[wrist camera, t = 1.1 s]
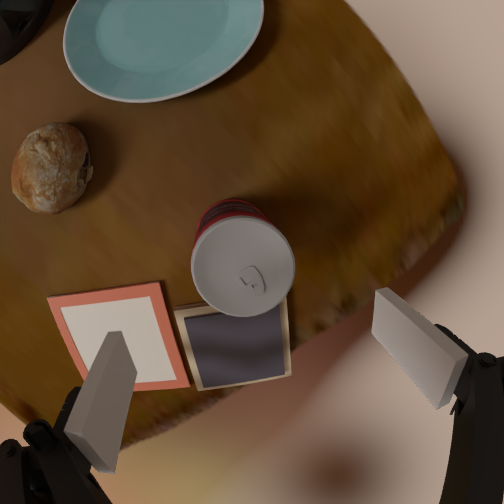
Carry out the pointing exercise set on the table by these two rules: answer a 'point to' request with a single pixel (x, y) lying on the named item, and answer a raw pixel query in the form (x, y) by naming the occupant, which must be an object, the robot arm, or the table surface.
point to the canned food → (241, 260)
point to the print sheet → (123, 331)
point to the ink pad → (234, 345)
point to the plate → (157, 44)
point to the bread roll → (51, 168)
